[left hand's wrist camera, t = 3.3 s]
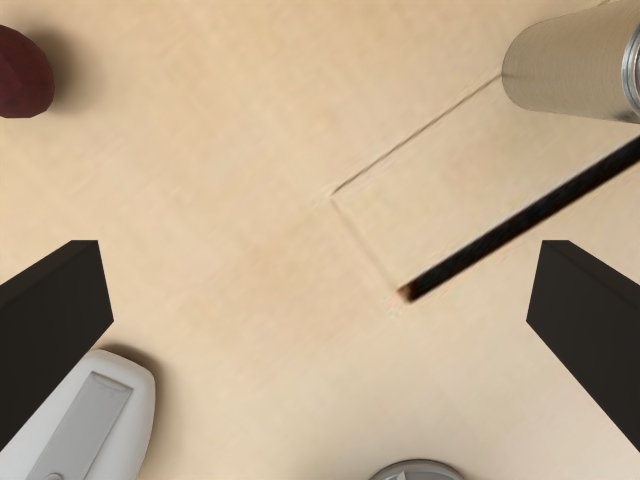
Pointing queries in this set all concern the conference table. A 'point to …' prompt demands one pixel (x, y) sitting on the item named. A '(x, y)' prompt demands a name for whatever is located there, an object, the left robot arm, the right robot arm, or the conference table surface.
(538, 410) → the conference table surface
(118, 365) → the projector
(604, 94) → the bottle
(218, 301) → the conference table surface
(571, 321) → the left robot arm
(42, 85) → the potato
